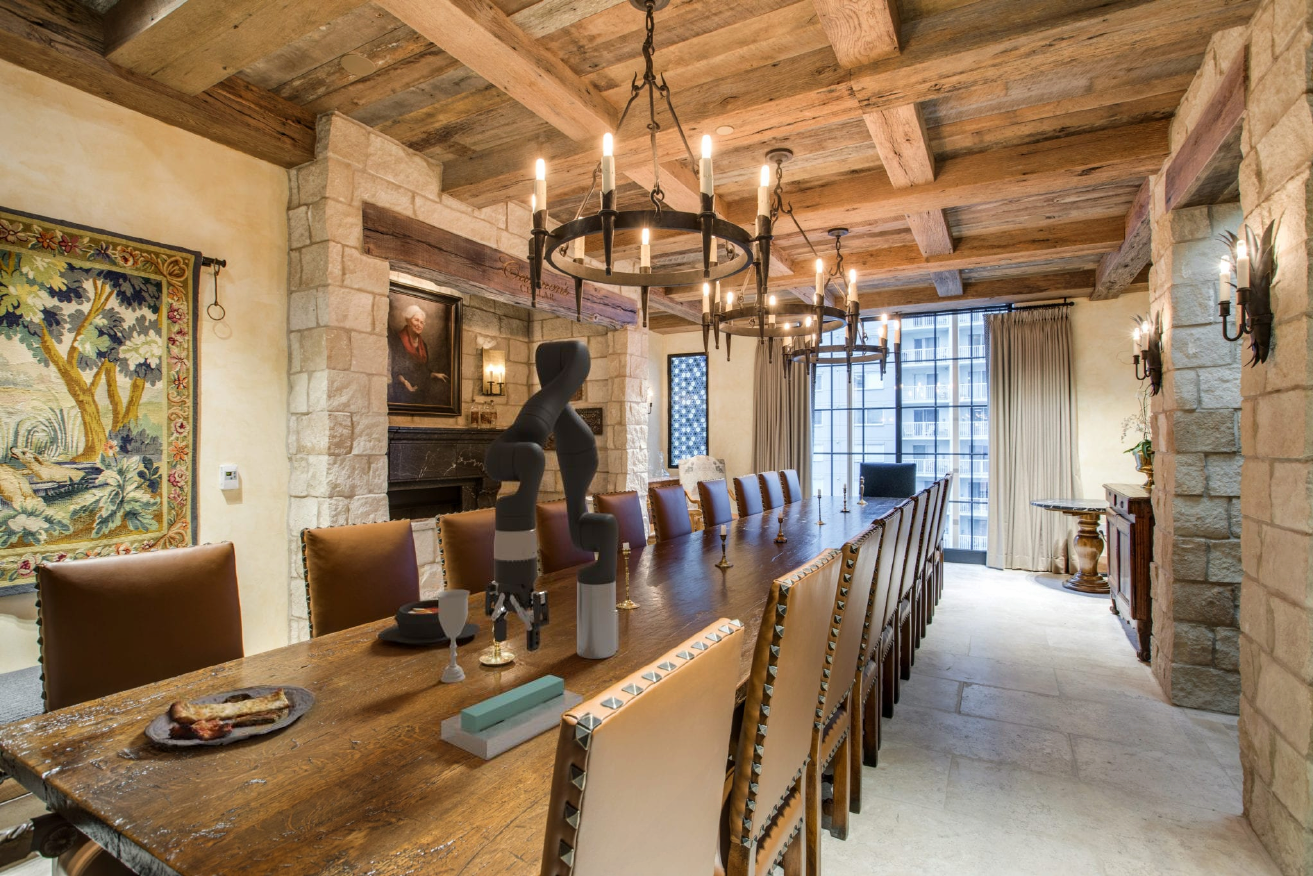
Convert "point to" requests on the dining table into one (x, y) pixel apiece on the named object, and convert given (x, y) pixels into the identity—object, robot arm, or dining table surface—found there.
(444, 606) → the chalice
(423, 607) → the casserole
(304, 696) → the food plate
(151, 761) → the dining table surface
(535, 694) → the strip bar
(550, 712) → the plate
